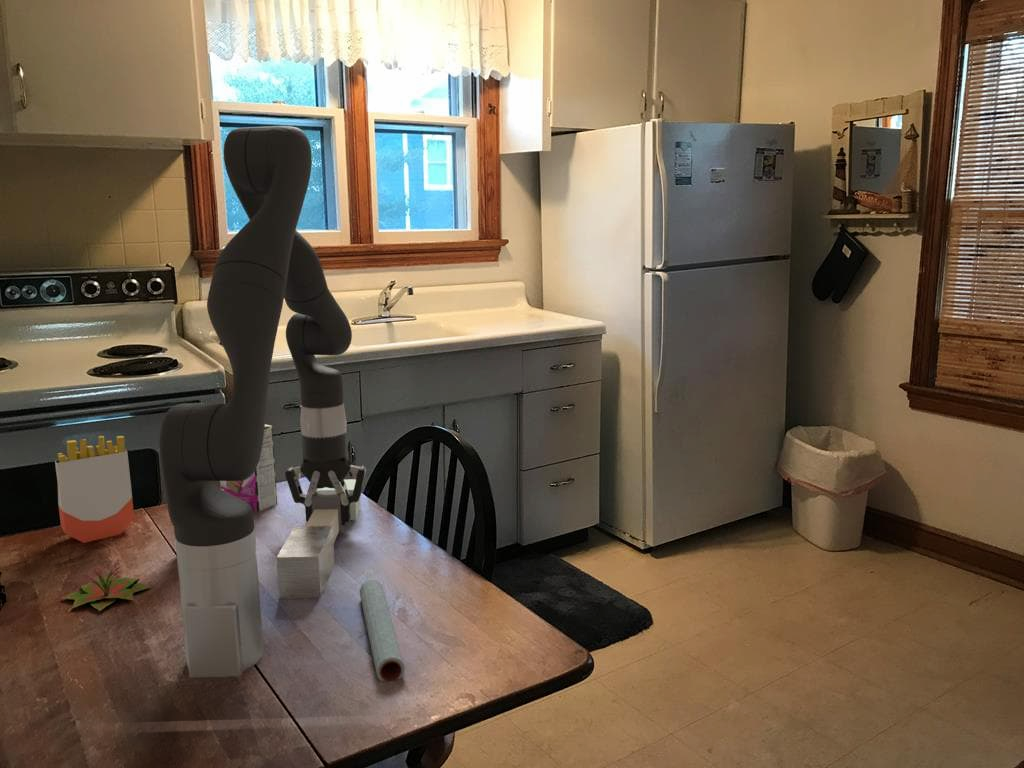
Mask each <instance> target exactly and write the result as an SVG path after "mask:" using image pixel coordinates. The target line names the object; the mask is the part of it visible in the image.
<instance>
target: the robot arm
mask: <svg viewBox="0 0 1024 768" xmlns="http://www.w3.org/2000/svg"><path fill="white" fill-rule="evenodd" d="M223 161H224V166H225V171H226V174H227V177H228V180H229V182H230V185H231V187H232V189H233V190H234V192H235V194H236V197H237V198H238V200H239V203H240V204H241V207H242V208H243V210H244V212H245V214H246V215H247V218H248V219H249V221H247V223H246V224H245V225H244V226H243V227H242V228H241V229H240V230H239V231H238V232H237V233H236V234H235V235H234V236H233V237H232V238H231V239H230V240H229V241H228V242H227V243H226V245H225V246H224V248H223V249H222V250H221V251H220V253H219V255H218V256H217V258H216V261H215V264H214V267H213V271H212V277H211V280H210V284H209V290H208V294H207V300H206V308H207V313H208V317H209V320H210V323H211V325H212V327H213V329H214V332H215V334H216V336H217V338H218V340H219V342H220V343H221V345H222V348H223V349H224V351H225V354H226V356H227V358H228V361H229V363H230V367H231V371H232V387H231V389H232V390H231V395H230V399H229V402H228V403H198V402H197V403H194V402H193V403H190V402H188V403H187V402H186V403H179V404H175V405H173V406H172V407H170V408H169V409H168V410H167V412H166V413H165V415H164V417H163V419H162V422H161V425H160V430H159V441H158V443H159V457H160V464H161V465H160V466H161V470H162V471H161V472H162V477H163V483H164V490H165V496H166V503H167V510H168V511H167V512H168V516H169V519H170V522H171V524H172V526H173V530H174V542H175V541H176V547H175V550H176V559H177V560H176V561H177V563H176V564H177V573H178V583H179V584H178V585H179V592H180V593H179V595H180V607H181V614H182V615H181V617H182V625H183V626H182V627H183V636H184V647H185V656H186V657H185V658H186V666H187V669H188V677H189V678H219V677H220V678H222V677H223V678H224V677H227V678H228V677H229V678H230V677H240V676H242V674H243V673H244V672H245V671H247V670H248V669H250V668H251V667H254V666H255V665H256V664H257V663H258V662H259V661H260V660H261V659H262V658H263V655H264V651H265V649H264V638H263V625H262V624H263V623H262V614H261V611H262V610H261V600H260V599H261V597H260V596H261V595H260V585H259V584H260V583H259V571H258V558H257V557H258V556H257V542H256V529H255V527H256V525H255V514H254V510H253V509H252V507H251V506H250V505H249V504H248V503H247V502H245V501H243V500H241V499H239V498H236V497H234V496H232V495H230V494H228V493H226V492H224V491H222V490H221V489H220V488H219V487H218V486H217V485H216V484H215V483H214V482H219V481H242V480H246V479H248V478H249V477H250V476H252V475H253V473H254V471H255V470H256V468H257V465H258V463H259V459H260V456H261V451H262V445H263V437H264V428H265V424H266V418H267V417H266V415H267V408H268V407H267V404H268V393H269V384H270V375H271V374H270V373H271V367H272V360H273V353H274V348H275V344H276V343H275V342H276V339H277V338H276V337H277V333H278V328H279V323H280V319H281V315H282V310H283V306H284V301H285V305H286V306H287V307H288V309H289V310H290V311H292V312H294V313H295V314H293V315H292V316H291V317H290V318H289V320H288V321H287V324H286V328H285V339H286V343H287V344H286V345H287V347H288V350H289V352H290V355H291V358H292V360H293V361H292V362H293V363H294V364H293V365H294V367H295V370H296V374H297V377H298V380H299V381H298V382H299V389H300V405H301V406H300V431H301V435H300V436H301V447H302V448H301V449H302V462H301V465H299V466H295V467H294V466H289V467H288V468H287V470H285V473H284V475H285V480H286V482H287V485H288V487H289V491H290V493H291V496H292V500H293V502H294V503H296V504H302V505H303V506H304V509H305V510H304V511H305V512H304V513H305V521H306V523H307V522H308V520H309V519H310V517H311V515H312V501H311V497H312V496H314V495H315V493H316V491H317V489H321V488H325V487H327V488H335V491H336V493H337V495H338V496H340V500H341V503H342V505H341V522H342V526H345V527H346V526H347V524H348V523H349V522H350V521H349V520H350V518H351V509H350V504H351V503H352V502H358V500H359V497H360V498H361V495H362V490H363V487H364V486H363V485H364V482H365V477H366V474H367V473H366V472H367V466H365V465H361V466H357V465H354V464H353V465H352V464H351V461H350V460H349V455H348V434H347V433H348V432H347V427H348V422H347V417H346V410H345V409H346V408H345V403H344V402H345V401H344V383H343V381H344V380H343V375H342V373H341V372H340V370H338V369H335V368H332V367H329V366H325V365H323V364H321V363H319V360H318V359H317V358H316V356H340V355H343V354H344V353H346V351H348V349H349V348H350V346H351V343H352V338H353V333H352V327H351V325H350V321H349V319H348V318H347V315H346V314H345V312H344V311H343V309H342V308H341V306H340V305H339V303H338V301H337V300H336V299H335V297H334V295H333V294H332V293H331V291H330V290H329V287H328V282H327V280H326V276H325V273H324V269H323V266H322V263H321V261H320V258H319V256H318V254H317V252H316V250H315V249H314V248H313V246H312V245H311V244H310V243H309V242H308V240H307V239H305V236H303V235H302V234H301V233H300V232H299V231H298V230H297V227H298V222H299V219H300V216H301V213H302V209H303V206H304V202H305V198H306V194H307V191H308V187H309V184H310V180H311V173H312V162H313V160H312V147H311V143H310V140H309V137H307V135H306V133H305V132H304V131H303V130H302V129H300V128H299V127H295V126H288V125H274V126H273V125H271V126H270V125H269V126H268V125H267V126H253V127H252V126H249V127H240V128H239V127H238V128H234V129H232V130H231V131H229V132H228V134H227V136H226V138H225V140H224V144H223ZM349 472H350V473H352V474H351V475H352V479H356V482H355V487H354V491H353V493H351V494H349V492H348V490H347V485H346V483H345V481H344V480H345V478H346V477H347V475H348V474H349ZM301 473H302V474H303V476H304V477H305V478H306V479H307V481H308V482H309V484H308V490H307V491H306V492H307V493H306V494H305V493H304V492H303V489H302V486H301V483H300V481H299V479H300V478H301Z"/></svg>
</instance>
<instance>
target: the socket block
mask: <svg viewBox="0 0 1024 768" xmlns="http://www.w3.org/2000/svg"><path fill="white" fill-rule="evenodd" d="M344 481H345V483H346V485H347V490H348V492H349V494H351V493H353V491H354V487H355V482H356V479H354V478H352V479H351V478H350V479H344ZM317 491H335V488H327V487H325V488H321V489H317ZM361 507H362V505H361V496H360V497H359V500H358V502H352V503H351V504H350V509H351V518H350V520H356V519H357V520H358V517H359V515H358V514H360V512H361V509H362V508H361ZM360 508H361V509H360ZM359 511H360V512H359ZM357 516H358V517H357ZM357 520H356V521H357Z"/></svg>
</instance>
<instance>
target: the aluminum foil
mask: <svg viewBox="0 0 1024 768" xmlns="http://www.w3.org/2000/svg"><path fill="white" fill-rule="evenodd" d="M359 596H360V600H361V606H362V610H363V614H364V619H365V625H366V630H367V634H368V638H369V639H368V640H369V643H370V648H371V654H372V657H373V658H372V659H373V662H374V666H375V673H376V675H377V678H378V680H379V681H380V682H393V681H396V680H400V679H402V678H403V676H404V675H405V670H406V668H405V664H404V660H403V656H402V652H401V649H400V648H401V647H400V646H399V645H400V644H399V642H398V638H397V635H396V632H395V627H394V624H393V620H392V617H391V612H390V608H389V605H388V602H387V598H386V595H385V591H384V587H383V584H382V583H381V582H380V581H379V580H376V579H368V580H366V581H364V582H363V583H362V584H361V586H360V588H359Z"/></svg>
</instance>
